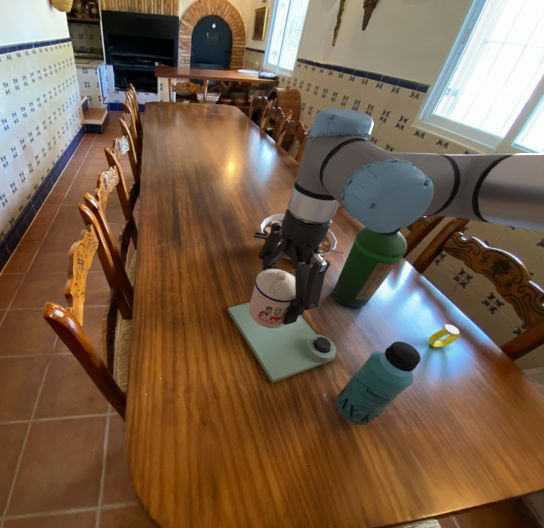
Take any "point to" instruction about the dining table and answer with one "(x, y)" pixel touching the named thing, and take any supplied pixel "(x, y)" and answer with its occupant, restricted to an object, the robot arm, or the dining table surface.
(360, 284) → the bottle
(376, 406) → the beverage bottle
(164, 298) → the dining table surface
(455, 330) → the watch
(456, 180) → the robot arm
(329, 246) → the ramen bowl
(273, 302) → the teacup with lid
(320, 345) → the button
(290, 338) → the scale
